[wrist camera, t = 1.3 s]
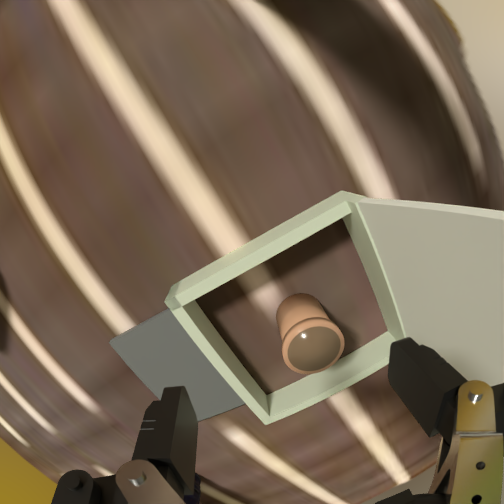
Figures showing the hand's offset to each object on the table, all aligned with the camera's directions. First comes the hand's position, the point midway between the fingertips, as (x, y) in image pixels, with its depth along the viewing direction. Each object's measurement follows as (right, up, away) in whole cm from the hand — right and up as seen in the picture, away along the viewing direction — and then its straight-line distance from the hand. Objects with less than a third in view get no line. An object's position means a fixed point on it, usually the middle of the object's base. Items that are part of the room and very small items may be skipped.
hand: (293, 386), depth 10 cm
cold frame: (+5, -1, +22) cm, 23 cm away
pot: (+4, -2, +22) cm, 23 cm away
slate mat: (-10, -10, +23) cm, 27 cm away
